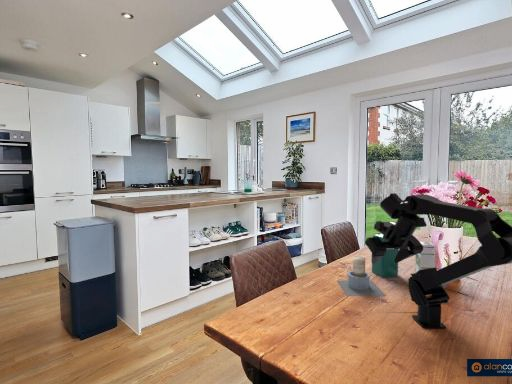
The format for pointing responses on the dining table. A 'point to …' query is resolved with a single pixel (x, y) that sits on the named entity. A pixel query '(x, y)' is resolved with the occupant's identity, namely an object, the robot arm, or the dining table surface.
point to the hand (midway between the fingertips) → (384, 262)
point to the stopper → (359, 266)
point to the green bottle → (386, 261)
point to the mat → (372, 290)
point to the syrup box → (426, 257)
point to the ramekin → (358, 281)
